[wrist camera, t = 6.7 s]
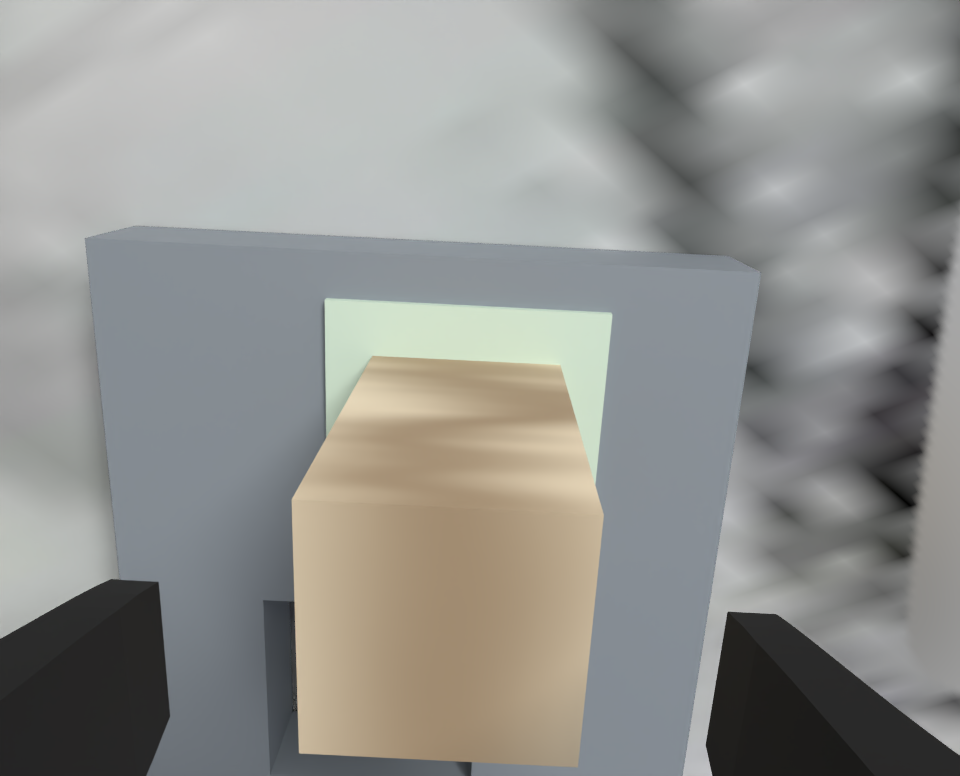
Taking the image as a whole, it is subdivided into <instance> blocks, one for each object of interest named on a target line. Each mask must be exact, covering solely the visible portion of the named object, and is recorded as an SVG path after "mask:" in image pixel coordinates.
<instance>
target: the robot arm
mask: <svg viewBox="0 0 960 776" xmlns="http://www.w3.org/2000/svg"><path fill="white" fill-rule="evenodd" d="M169 718H170V709H169V697H168V685H167V673H166V662H165V650H164V638H163V626H162V614H161V603H160V591H159V582H152V581H133V580H114V579H111V580H108V581H106V582H104V583H102V584H100V585H98V586H96V587H94V588H92V589H90V590H88V591H86V592H84V593H82V594H80V595H78V596H76V597H74V598H73V599H71V600H69V601H67V602H65V603H64V604H62V605H60V606H58V607H56V608H55V609H53V610H51V611H49V612H47V613H46V614H44V615H42V616H40V617H39V618H37V619H35V620H33V621H32V622H30V623H28V624H26V625H24V626H23V627H21V628H19V629H17V630H16V631H14V632H12V633H10V634H8V635H7V636H5V637H3V638H1V639H0V776H146V775H147V773H148V771H149V768H150V766H151V764H152V761H153V759H154V756H155V754H156V751H157V749H158V746H159V744H160V741H161V738H162V736H163V733H164V731H165V728H166V726H167V723H168V721H169ZM706 748H707V753H708V757H709V762H710V766H711V771H712V776H960V755H958V754H957V753H955V752H954V751H952V750H951V749H950V748H948V747H947V746H946V745H944V744H943V743H942V742H940V741H939V740H938V739H936V738H935V737H934V736H932V735H931V734H930V733H928V732H927V731H926V730H924V729H923V728H922V727H920V726H919V725H918V724H916V723H915V722H914V721H912V720H911V719H910V718H908V717H907V716H906V715H905V714H903V713H902V712H901V711H899V710H898V709H897V708H896V707H894V706H893V705H892V704H890V703H889V702H888V701H887V700H885V699H884V698H883V697H881V696H880V695H879V694H878V693H876V692H875V691H874V690H873V689H871V688H870V687H869V686H868V685H866V684H865V683H864V682H863V681H861V680H860V679H859V678H858V677H856V676H855V675H854V674H853V673H851V672H850V671H849V670H848V669H846V668H845V667H844V666H843V665H841V664H840V663H839V662H838V661H836V660H835V659H834V658H833V657H831V656H830V655H829V654H828V653H826V652H825V651H824V650H823V649H821V648H820V647H819V646H818V645H816V644H815V643H814V642H813V641H811V640H810V639H809V638H808V637H806V636H805V635H804V634H802V633H801V632H800V631H799V630H797V629H796V628H795V627H793V626H792V625H791V624H789V623H788V622H787V621H785V620H784V619H782V618H781V617H779V616H778V615H776V614H760V613H741V612H728V613H727V619H726V625H725V631H724V638H723V644H722V650H721V656H720V662H719V668H718V674H717V680H716V686H715V692H714V698H713V704H712V710H711V717H710V723H709V729H708V735H707V741H706Z"/></svg>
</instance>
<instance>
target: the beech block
mask: <svg viewBox="0 0 960 776" xmlns="http://www.w3.org/2000/svg"><path fill="white" fill-rule="evenodd" d="M603 518H604V514H603V510H602V507H601V503H600V500H599V496H598V493H597V490H596V486H595V483H594V479H593V476H592V472H591V469H590V465H589V462H588V458H587V455H586V452H585V448H584V445H583V441H582V438H581V434H580V431H579V427H578V424H577V420H576V417H575V414H574V410H573V407H572V403H571V400H570V396H569V393H568V389H567V386H566V382H565V379H564V376H563V372H562V369H561V365H551V364H530V363H510V362H489V361H469V360H448V359H428V358H407V357H387V356H372V357H371V359H370V361H369V363H368V365H367V366H366V368H365V370H364V372H363V373H362V375H361V377H360V379H359V381H358V382H357V384H356V386H355V388H354V389H353V391H352V393H351V395H350V397H349V398H348V400H347V402H346V404H345V405H344V407H343V409H342V411H341V413H340V414H339V416H338V418H337V420H336V421H335V423H334V425H333V427H332V429H331V430H330V432H329V434H328V436H327V437H326V439H325V441H324V443H323V445H322V446H321V448H320V450H319V452H318V453H317V455H316V457H315V459H314V461H313V462H312V464H311V466H310V468H309V469H308V471H307V473H306V475H305V476H304V478H303V480H302V482H301V484H300V485H299V487H298V489H297V491H296V492H295V494H294V496H293V498H292V533H293V567H294V601H295V635H296V669H297V703H298V737H299V753H301V754H321V755H341V756H361V757H380V758H400V759H420V760H440V761H460V762H480V763H499V764H519V765H539V766H559V767H578V761H579V752H580V742H581V732H582V723H583V713H584V703H585V693H586V684H587V674H588V664H589V655H590V645H591V635H592V625H593V616H594V606H595V596H596V587H597V577H598V567H599V557H600V548H601V538H602V528H603Z"/></svg>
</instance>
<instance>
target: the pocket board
mask: <svg viewBox="0 0 960 776" xmlns="http://www.w3.org/2000/svg"><path fill="white" fill-rule="evenodd" d="M85 244H86V254H87V264H88V274H89V283H90V293H91V303H92V313H93V322H94V332H95V342H96V352H97V361H98V371H99V381H100V391H101V400H102V410H103V420H104V430H105V440H106V449H107V459H108V469H109V479H110V488H111V498H112V508H113V518H114V527H115V537H116V547H117V557H118V567H119V576H120V580H133V581H152V582H159V591H160V603H161V614H162V626H163V638H164V650H165V662H166V673H167V685H168V697H169V709H170V718H169V721H168V723H167V726H166V728H165V731H164V733H163V736H162V738H161V741H160V744H159V746H158V749H157V751H156V754H155V756H154V759H153V761H152V764H151V766H150V768H149V771H148V773H147V775H146V776H682V775H683V769H684V763H685V756H686V750H687V743H688V737H689V731H690V724H691V718H692V711H693V705H694V699H695V692H696V686H697V679H698V673H699V667H700V660H701V654H702V647H703V641H704V635H705V628H706V622H707V615H708V609H709V603H710V596H711V590H712V583H713V577H714V571H715V564H716V558H717V551H718V545H719V539H720V532H721V526H722V519H723V513H724V507H725V500H726V494H727V488H728V481H729V475H730V468H731V462H732V456H733V449H734V443H735V436H736V430H737V424H738V417H739V411H740V404H741V398H742V392H743V385H744V379H745V372H746V366H747V360H748V353H749V347H750V340H751V334H752V328H753V321H754V315H755V308H756V302H757V296H758V289H759V283H760V276H761V272H759V271H757V270H755V269H753V268H751V267H749V266H747V265H745V264H743V263H741V262H739V261H737V260H735V259H733V258H731V257H729V256H718V255H699V254H679V253H659V252H640V251H620V250H600V249H580V248H561V247H541V246H521V245H502V244H482V243H462V242H443V241H423V240H403V239H384V238H364V237H344V236H325V235H305V234H285V233H266V232H246V231H226V230H207V229H187V228H167V227H148V226H133V227H129V228H124V229H120V230H116V231H112V232H108V233H104V234H100V235H96V236H92V237H88V238H85ZM372 356H387V357H407V358H428V359H448V360H469V361H489V362H510V363H530V364H551V365H561V369H562V372H563V376H564V379H565V382H566V386H567V389H568V393H569V396H570V400H571V403H572V407H573V410H574V414H575V417H576V420H577V424H578V427H579V431H580V434H581V438H582V441H583V445H584V448H585V452H586V455H587V458H588V462H589V465H590V469H591V472H592V476H593V479H594V483H595V486H596V490H597V493H598V496H599V500H600V503H601V507H602V510H603V514H604V518H603V528H602V538H601V548H600V557H599V567H598V577H597V587H596V596H595V606H594V616H593V625H592V635H591V645H590V655H589V664H588V674H587V684H586V693H585V703H584V713H583V723H582V732H581V742H580V752H579V761H578V767H559V766H539V765H519V764H499V763H480V762H460V761H440V760H420V759H400V758H380V757H361V756H341V755H321V754H301V753H299V737H298V711H293V702H292V667H291V632H290V602H295V601H294V567H293V533H292V498H293V496H294V494H295V492H296V491H297V489H298V487H299V485H300V484H301V482H302V480H303V478H304V476H305V475H306V473H307V471H308V469H309V468H310V466H311V464H312V462H313V461H314V459H315V457H316V455H317V453H318V452H319V450H320V448H321V446H322V445H323V443H324V441H325V439H326V437H327V436H328V434H329V432H330V430H331V429H332V427H333V425H334V423H335V421H336V420H337V418H338V416H339V414H340V413H341V411H342V409H343V407H344V405H345V404H346V402H347V400H348V398H349V397H350V395H351V393H352V391H353V389H354V388H355V386H356V384H357V382H358V381H359V379H360V377H361V375H362V373H363V372H364V370H365V368H366V366H367V365H368V363H369V361H370V359H371V357H372Z"/></svg>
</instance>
